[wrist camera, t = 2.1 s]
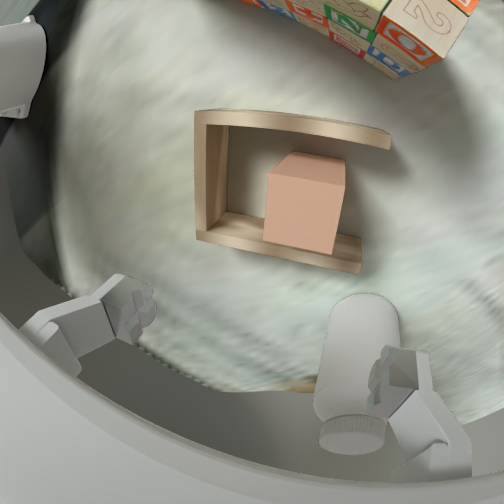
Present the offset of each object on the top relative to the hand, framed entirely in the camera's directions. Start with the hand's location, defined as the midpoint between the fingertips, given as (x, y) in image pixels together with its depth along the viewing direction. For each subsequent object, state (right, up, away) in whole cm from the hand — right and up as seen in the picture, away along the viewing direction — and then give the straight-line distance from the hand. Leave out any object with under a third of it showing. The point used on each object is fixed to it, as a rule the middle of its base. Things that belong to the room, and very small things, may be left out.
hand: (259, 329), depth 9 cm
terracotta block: (+5, +9, +14) cm, 18 cm away
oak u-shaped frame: (+3, +9, +15) cm, 18 cm away
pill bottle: (+12, -5, +20) cm, 24 cm away
